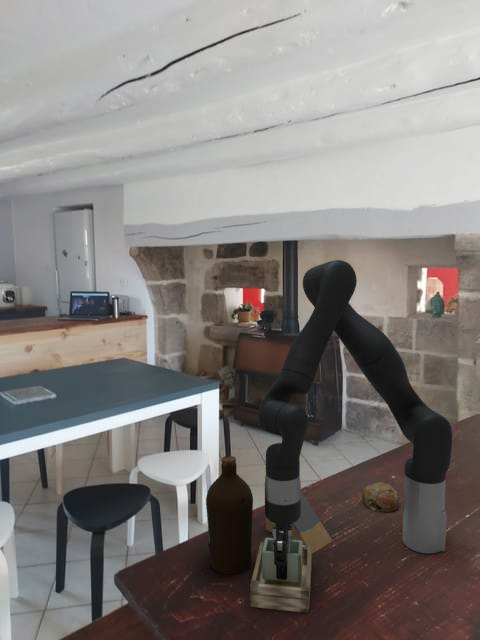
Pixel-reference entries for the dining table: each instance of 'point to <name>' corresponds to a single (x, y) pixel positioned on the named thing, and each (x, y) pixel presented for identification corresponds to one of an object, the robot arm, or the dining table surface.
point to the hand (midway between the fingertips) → (283, 569)
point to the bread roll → (380, 497)
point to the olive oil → (229, 520)
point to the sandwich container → (307, 527)
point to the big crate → (282, 587)
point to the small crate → (292, 566)
